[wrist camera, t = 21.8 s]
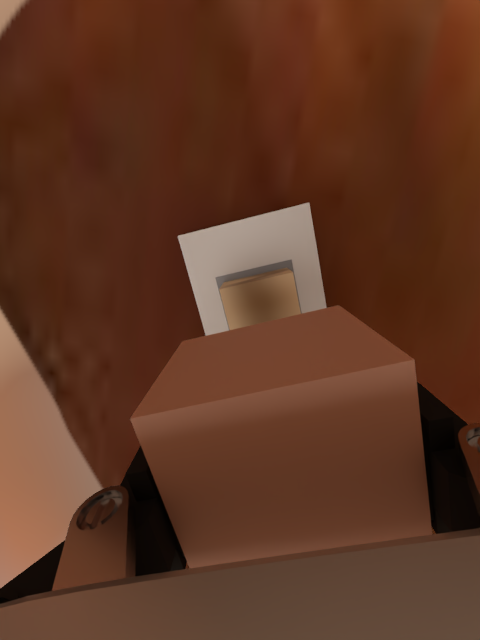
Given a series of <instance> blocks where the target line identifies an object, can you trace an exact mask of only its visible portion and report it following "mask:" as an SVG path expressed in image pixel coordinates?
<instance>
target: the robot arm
mask: <svg viewBox="0 0 480 640" xmlns="http://www.w3.org/2000/svg"><path fill="white" fill-rule="evenodd" d="M417 389H418V399H419V409H420V419H421V429H422V438H423V448H424V458H425V468H426V478H427V487H428V497H429V507H430V517H431V526H432V527H433V529H434V531H435V532H436V534H432V535H425V536H418V537H410V538H403V539H395V540H388V541H380V542H373V543H366V544H358V545H351V546H344V547H337V548H330V549H322V550H315V551H308V552H301V553H294V554H287V555H280V556H273V557H266V558H259V559H252V560H245V561H238V562H231V563H224V564H217V565H210V566H203V567H197V568H190V569H185V567H186V562H187V560H186V558H185V555H184V553H183V550H182V548H181V545H180V543H179V540H178V538H177V535H176V533H175V530H174V528H173V525H172V523H171V520H170V518H169V515H168V513H167V510H166V508H165V505H164V503H163V500H162V498H161V495H160V493H159V490H158V488H157V485H156V483H155V480H154V477H153V475H152V472H151V470H150V467H149V465H148V462H147V460H146V457H145V455H144V452H143V450H142V447H141V446H140V448H139V450H138V452H137V453H136V455H135V457H134V459H133V461H132V463H131V465H130V467H129V468H128V470H127V472H126V474H125V477H124V479H123V481H122V483H121V485H120V486H110V487H107V488H104V489H102V490H100V491H98V492H97V493H95V494H93V495H92V496H91V497H89V498H88V499H87V500H86V501H85V502H84V503H83V504H82V505H81V506H80V507H79V508H78V509H77V510H76V512H75V513H74V515H73V517H72V519H71V521H70V524H69V528H68V532H67V536H66V539H65V541H64V542H62V543H61V544H59V545H58V546H57V547H55V548H54V549H53V550H51V551H50V552H49V553H47V554H46V555H45V556H43V557H42V558H41V559H39V560H38V561H37V562H36V563H34V564H33V565H31V566H30V567H29V568H27V569H26V570H25V571H24V572H22V573H21V574H19V575H18V576H17V577H15V578H14V579H13V580H11V581H10V582H9V583H7V584H6V585H5V586H3V587H2V588H0V640H480V423H474V424H469V425H468V424H467V423H466V422H464V421H463V420H462V419H461V418H460V417H459V416H457V415H456V414H455V413H454V412H453V411H451V410H450V409H449V408H448V407H447V406H445V405H444V404H443V403H442V402H441V401H440V400H438V399H437V398H436V397H435V396H434V395H432V394H431V393H430V392H429V391H428V390H427V389H425V388H424V387H423V386H422V385H421V384H419V383H418V382H417Z"/></svg>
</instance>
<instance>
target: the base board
mask: <svg viewBox="0 0 480 640" xmlns="http://www.w3.org/2000/svg"><path fill="white" fill-rule="evenodd" d="M178 239H179V243H180V246H181V250H182V253H183V257H184V260H185V264H186V267H187V271H188V274H189V278H190V282H191V285H192V289H193V292H194V296H195V299H196V303H197V306H198V310H199V313H200V317H201V320H202V324H203V328H204V331H205V335H206V336H207V335H211V334H216V333H220V332H224V331H229V326H228V322H227V318H226V314H225V310H224V306H223V303H222V299H221V295H220V291H219V289H220V287H221V286H222V284H223V283H224V282H228V281H232V280H236V279H240V278H245V277H249V276H253V275H257V274H262V273H266V272H270V271H275V270H279V269H283V268H288V269H289V270H291V271H292V272H293V275H294V280H295V285H296V291H297V296H298V301H299V306H300V312H301V314H302V313H306V312H311V311H315V310H319V309H324V308H327V307H326V301H325V295H324V289H323V283H322V277H321V271H320V265H319V259H318V252H317V246H316V240H315V234H314V228H313V222H312V216H311V210H310V204H309V203H305V204H301V205H297V206H293V207H289V208H285V209H282V210H278V211H274V212H270V213H266V214H262V215H258V216H254V217H250V218H246V219H242V220H238V221H234V222H231V223H227V224H223V225H219V226H215V227H211V228H207V229H203V230H199V231H195V232H191V233H187V234H183V235H179V236H178Z"/></svg>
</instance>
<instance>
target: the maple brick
mask: <svg viewBox="0 0 480 640" xmlns="http://www.w3.org/2000/svg"><path fill="white" fill-rule="evenodd" d="M219 291H220V295H221V299H222V303H223V306H224V310H225V314H226V318H227V322H228V326H229V330H233V329H237V328H242V327H246V326H250V325H255V324H259V323H263V322H267V321H272V320H276V319H280V318H285V317H289V316H293V315H298V314H301V312H300V306H299V301H298V296H297V291H296V285H295V280H294V275H293V272H292V271H291V270H289V269H288V268H283V269H279V270H275V271H270V272H266V273H262V274H257V275H253V276H249V277H245V278H240V279H236V280H232V281H228V282H224V283H223V284H222V286H221V287H220V289H219Z"/></svg>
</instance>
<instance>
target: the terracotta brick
mask: <svg viewBox="0 0 480 640" xmlns="http://www.w3.org/2000/svg"><path fill="white" fill-rule="evenodd" d="M130 420H131V422H132V425H133V427H134V430H135V432H136V435H137V437H138V440H139V442H140V445H141V447H142V450H143V452H144V455H145V457H146V460H147V462H148V465H149V467H150V470H151V472H152V475H153V477H154V480H155V483H156V485H157V488H158V490H159V493H160V495H161V498H162V500H163V503H164V505H165V508H166V510H167V513H168V515H169V518H170V520H171V523H172V525H173V528H174V530H175V533H176V535H177V538H178V540H179V543H180V545H181V548H182V550H183V553H184V555H185V558H186V560H187V563H188V565H189V568H197V567H203V566H210V565H217V564H224V563H231V562H238V561H245V560H252V559H259V558H266V557H273V556H280V555H287V554H294V553H301V552H308V551H315V550H322V549H330V548H337V547H344V546H351V545H358V544H366V543H373V542H380V541H388V540H395V539H403V538H410V537H418V536H425V535H432V527H431V517H430V507H429V497H428V487H427V478H426V468H425V458H424V448H423V438H422V429H421V419H420V409H419V399H418V389H417V380H416V370H415V360H414V359H413V358H412V357H410V356H409V355H407V354H406V353H405V352H403V351H402V350H400V349H399V348H398V347H396V346H395V345H393V344H392V343H391V342H389V341H388V340H387V339H385V338H384V337H382V336H381V335H380V334H378V333H377V332H375V331H374V330H373V329H371V328H370V327H368V326H367V325H366V324H364V323H363V322H362V321H360V320H359V319H357V318H356V317H355V316H353V315H352V314H350V313H349V312H348V311H346V310H345V309H343V308H342V307H341V306H339V305H337V306H332V307H328V308H324V309H319V310H315V311H311V312H306V313H302V314H298V315H293V316H289V317H285V318H280V319H276V320H272V321H267V322H263V323H259V324H255V325H250V326H246V327H242V328H237V329H233V330H229V331H224V332H220V333H216V334H211V335H207V336H203V337H198V338H194V339H190V340H185V341H182V342H181V344H180V345H179V347H178V348H177V350H176V351H175V353H174V354H173V356H172V357H171V359H170V360H169V362H168V363H167V365H166V366H165V368H164V369H163V371H162V372H161V374H160V375H159V377H158V378H157V380H156V381H155V382H154V384H153V385H152V387H151V388H150V390H149V391H148V393H147V394H146V396H145V397H144V399H143V400H142V402H141V403H140V405H139V406H138V408H137V409H136V411H135V412H134V414H133V415H132V417H131V418H130Z"/></svg>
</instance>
